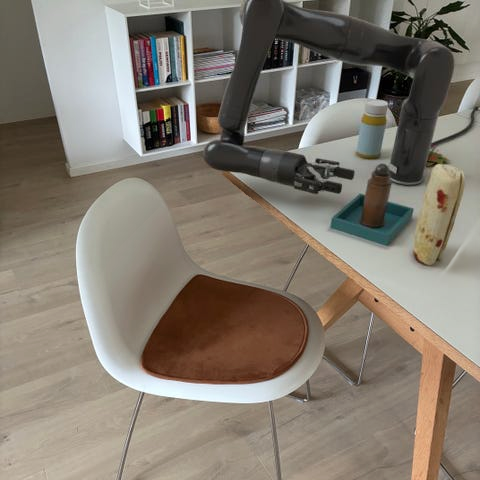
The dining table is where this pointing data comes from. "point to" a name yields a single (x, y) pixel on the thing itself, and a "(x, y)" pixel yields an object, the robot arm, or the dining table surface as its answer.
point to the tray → (350, 224)
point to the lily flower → (435, 157)
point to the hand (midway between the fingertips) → (347, 182)
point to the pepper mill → (376, 198)
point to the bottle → (372, 129)
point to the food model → (438, 213)
